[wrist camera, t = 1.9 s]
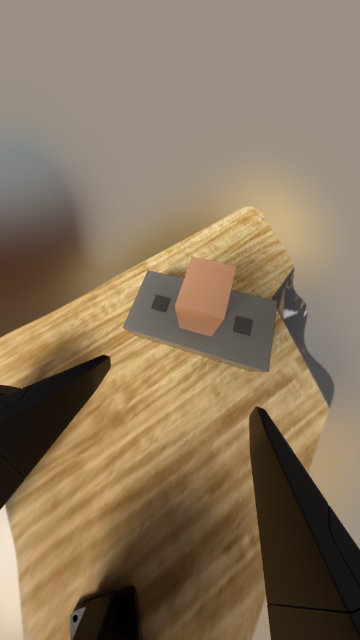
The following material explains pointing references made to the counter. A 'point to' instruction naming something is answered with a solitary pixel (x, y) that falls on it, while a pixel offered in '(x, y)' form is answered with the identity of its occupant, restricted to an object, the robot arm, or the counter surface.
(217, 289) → the plug
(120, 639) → the robot arm
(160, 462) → the counter surface
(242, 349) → the socket block
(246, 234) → the counter surface
